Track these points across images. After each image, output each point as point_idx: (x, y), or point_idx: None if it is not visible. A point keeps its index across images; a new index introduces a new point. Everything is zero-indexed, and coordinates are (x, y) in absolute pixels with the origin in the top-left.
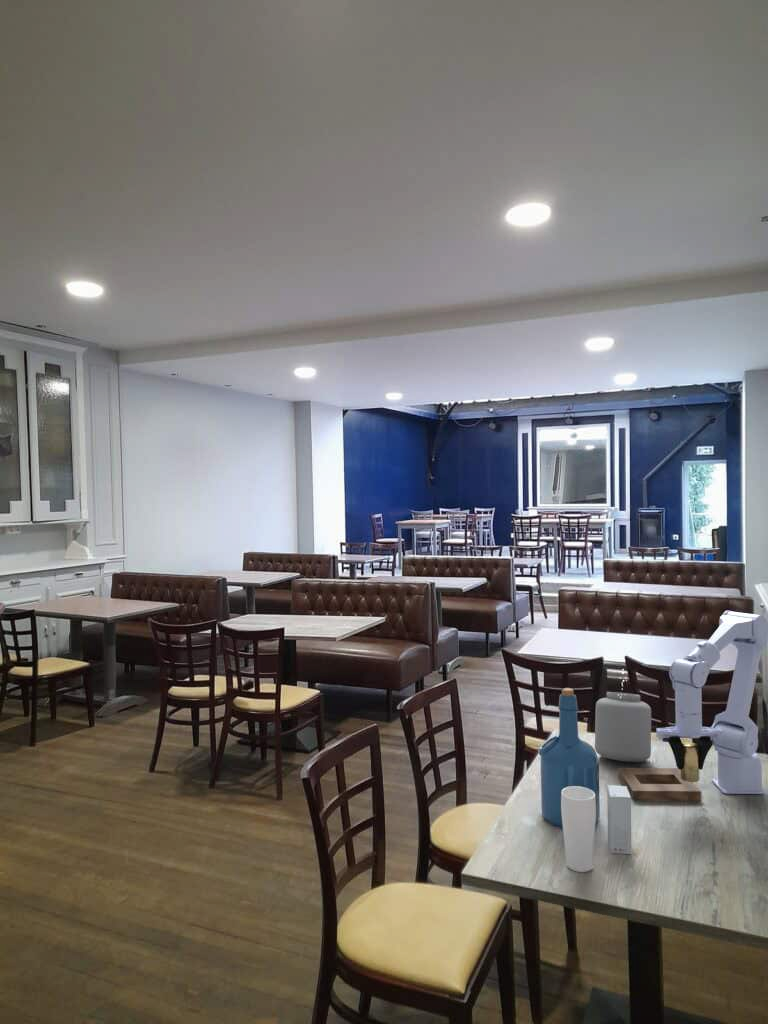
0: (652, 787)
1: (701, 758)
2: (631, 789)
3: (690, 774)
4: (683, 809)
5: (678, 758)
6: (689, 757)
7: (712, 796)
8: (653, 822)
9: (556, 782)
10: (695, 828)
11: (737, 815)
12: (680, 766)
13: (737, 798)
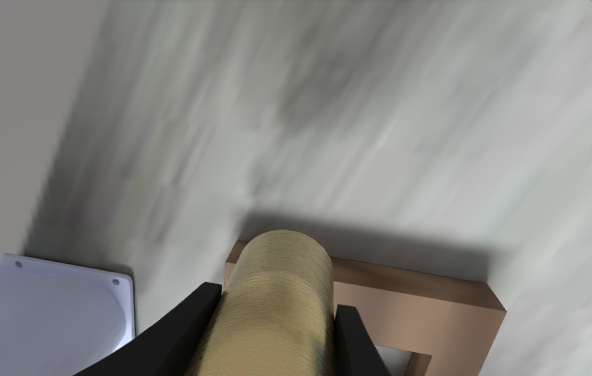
0: (403, 322)
1: (180, 333)
2: (496, 326)
3: (300, 259)
4: (334, 195)
5: (387, 369)
6: (293, 352)
7: (179, 268)
8: (530, 104)
9: None
10: (380, 26)
11: (153, 119)
12: (357, 317)
13: (100, 242)
